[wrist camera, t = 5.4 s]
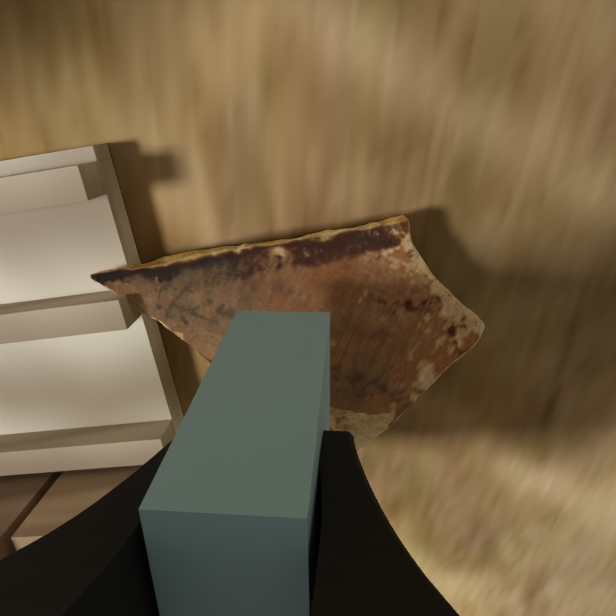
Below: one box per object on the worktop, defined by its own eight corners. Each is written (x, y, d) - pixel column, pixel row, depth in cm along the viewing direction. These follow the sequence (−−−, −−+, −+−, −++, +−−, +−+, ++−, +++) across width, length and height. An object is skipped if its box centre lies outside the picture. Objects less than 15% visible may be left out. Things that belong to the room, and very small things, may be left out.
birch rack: (-139, 184, 18) (-203, 195, 16) (107, 143, 17) (72, 148, 15) (15, 526, 23) (-18, 567, 21) (210, 513, 22) (195, 555, 20)
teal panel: (252, 505, 17) (190, 767, 11) (237, 310, 14) (138, 508, 8) (329, 509, 17) (313, 778, 10) (329, 312, 14) (307, 518, 7)
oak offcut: (74, 457, 20) (10, 537, 16) (167, 449, 20) (123, 530, 16) (90, 498, 21) (32, 584, 17) (180, 492, 20) (141, 579, 17)
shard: (107, 264, 18) (83, 279, 16) (235, 73, 16) (222, 67, 14) (350, 440, 20) (351, 470, 18) (497, 291, 17) (514, 310, 16)
